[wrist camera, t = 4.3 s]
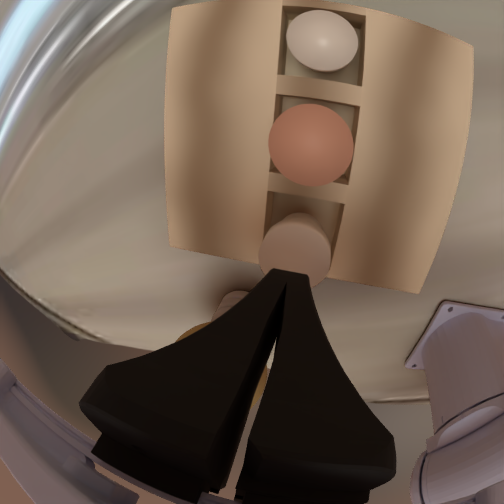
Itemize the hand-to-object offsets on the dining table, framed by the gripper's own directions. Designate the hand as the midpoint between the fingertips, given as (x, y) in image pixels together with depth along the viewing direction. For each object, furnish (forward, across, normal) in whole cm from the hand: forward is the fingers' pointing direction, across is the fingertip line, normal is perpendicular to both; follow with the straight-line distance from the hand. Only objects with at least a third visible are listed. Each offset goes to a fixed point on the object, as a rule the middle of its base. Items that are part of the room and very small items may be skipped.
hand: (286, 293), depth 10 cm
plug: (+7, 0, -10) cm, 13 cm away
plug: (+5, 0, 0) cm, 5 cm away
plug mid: (+5, 0, -5) cm, 7 cm away
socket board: (+8, 0, -5) cm, 10 cm away
